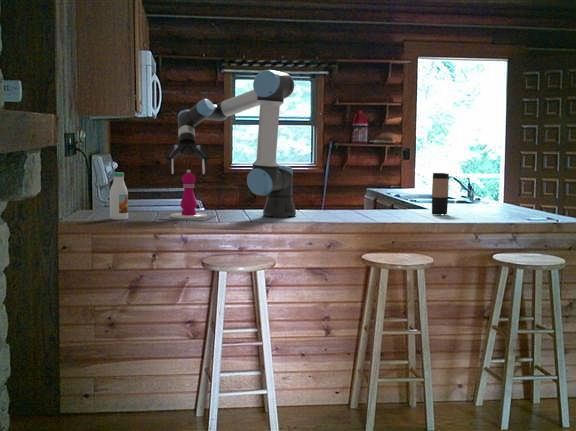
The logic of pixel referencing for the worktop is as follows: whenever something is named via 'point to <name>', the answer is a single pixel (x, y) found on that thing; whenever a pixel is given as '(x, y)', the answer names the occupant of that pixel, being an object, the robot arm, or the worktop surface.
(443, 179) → the travel mug
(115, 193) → the milk bottle
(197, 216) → the plate
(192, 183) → the pepper mill
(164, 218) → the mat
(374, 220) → the worktop surface
